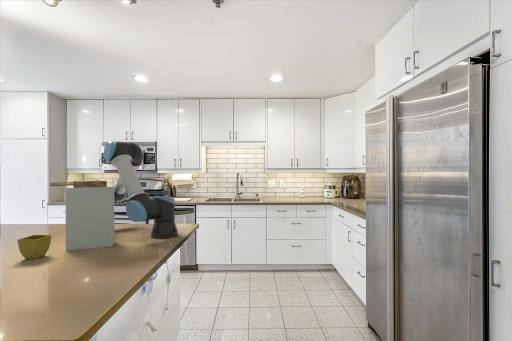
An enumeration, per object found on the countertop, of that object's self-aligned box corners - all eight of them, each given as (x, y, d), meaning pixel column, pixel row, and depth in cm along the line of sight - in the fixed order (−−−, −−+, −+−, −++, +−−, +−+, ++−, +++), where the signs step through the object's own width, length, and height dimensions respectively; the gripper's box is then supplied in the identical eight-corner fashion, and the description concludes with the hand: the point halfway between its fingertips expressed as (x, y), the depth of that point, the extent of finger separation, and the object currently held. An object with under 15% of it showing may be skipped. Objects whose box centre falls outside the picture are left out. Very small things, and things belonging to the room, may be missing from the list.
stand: (114, 241, 152) (114, 185, 152) (112, 246, 143) (112, 186, 143) (70, 245, 144) (70, 186, 144) (65, 250, 135) (65, 187, 135)
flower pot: (36, 260, 120) (36, 239, 120) (16, 260, 121) (16, 239, 121) (52, 254, 129) (52, 234, 129) (33, 254, 129) (33, 234, 129)
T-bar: (110, 184, 162) (110, 179, 162) (105, 186, 142) (105, 180, 142) (81, 185, 157) (81, 180, 157) (73, 187, 137) (73, 181, 137)
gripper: (122, 208, 178) (119, 193, 161) (76, 210, 169) (68, 195, 152) (122, 197, 182) (120, 182, 165) (77, 199, 173) (69, 183, 155)
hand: (95, 188), depth 158 cm, fingers open, 13 cm apart
